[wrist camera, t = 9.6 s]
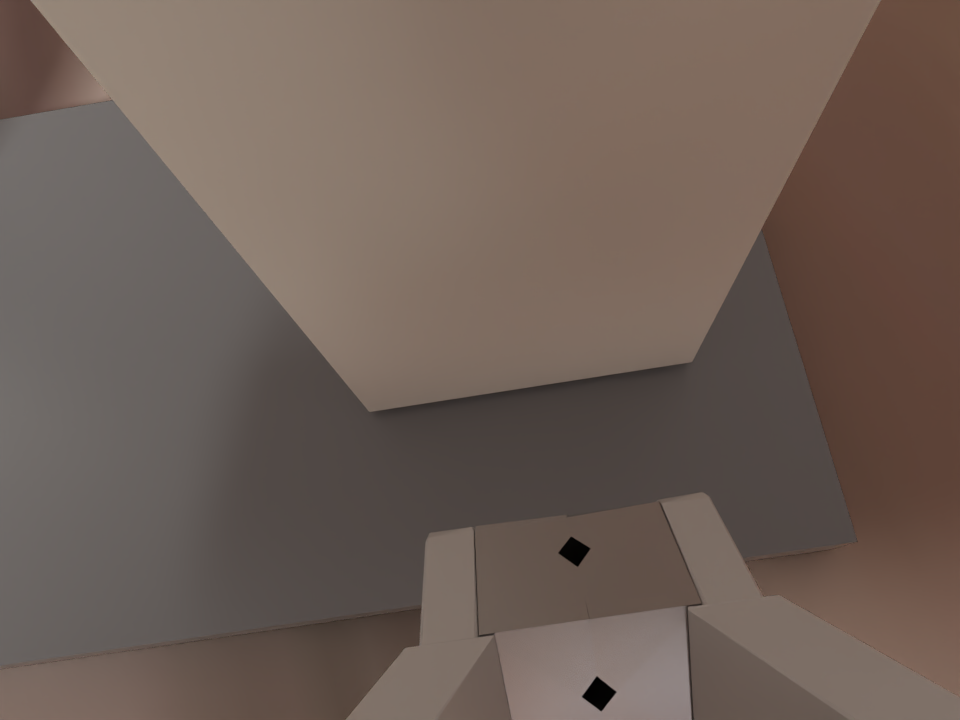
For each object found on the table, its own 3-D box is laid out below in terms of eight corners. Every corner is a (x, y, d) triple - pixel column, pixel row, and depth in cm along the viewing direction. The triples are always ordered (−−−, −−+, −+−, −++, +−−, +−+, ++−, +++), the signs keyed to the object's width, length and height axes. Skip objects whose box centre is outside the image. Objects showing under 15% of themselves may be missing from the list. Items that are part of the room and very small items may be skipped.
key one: (691, 362, 14) (1372, -936, 2) (369, 412, 14) (-422, -551, 3) (643, 167, 15) (912, -1186, 4) (352, 215, 15) (-192, -935, 4)
